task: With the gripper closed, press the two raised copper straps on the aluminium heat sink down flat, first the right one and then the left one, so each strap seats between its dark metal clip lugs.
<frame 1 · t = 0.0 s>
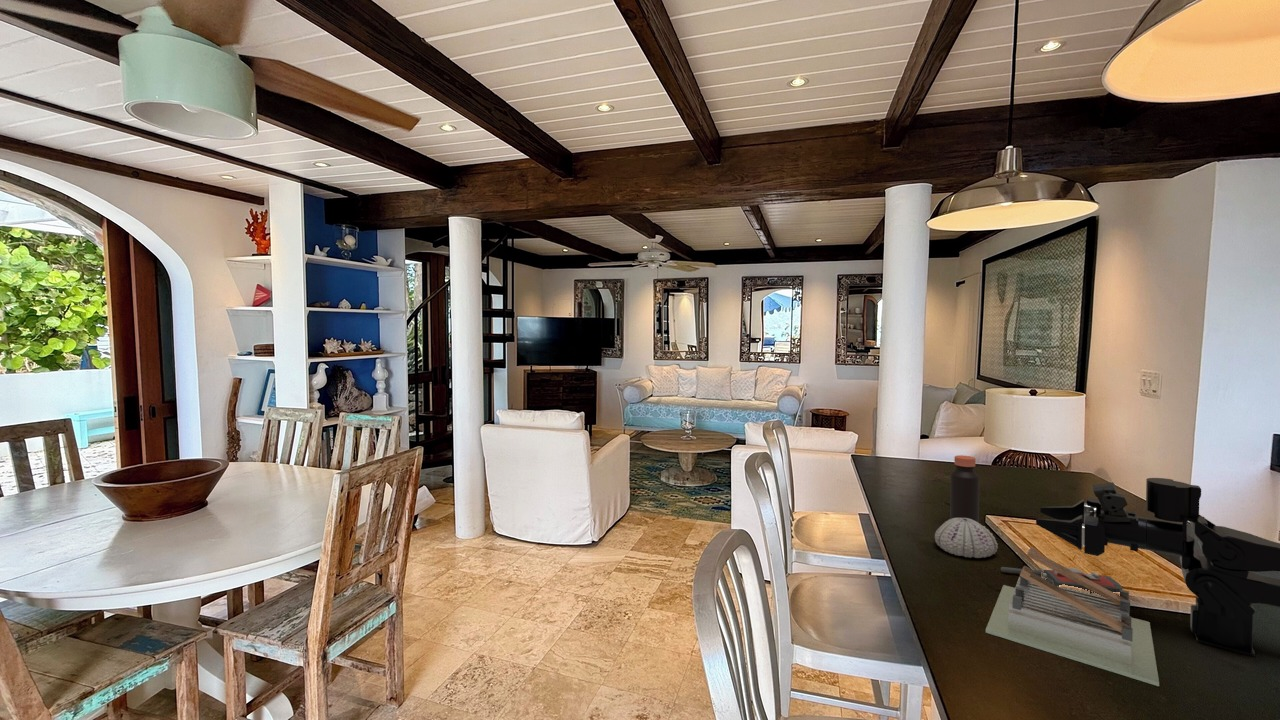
hand: (1038, 515, 105), 17 cm above the table, tool horizontal, fingers open, 9 cm apart
bottle: (964, 529, 142), on the table
strap left: (1073, 598, 88), point 8 cm above the table, hinge at 22.0°
walkie-talkie: (1060, 588, 109), on the table
strap right: (1076, 576, 96), point 8 cm above the table, hinge at 22.0°
sea urchin shell: (964, 551, 128), on the table
heat sink board: (1068, 628, 93), on the table
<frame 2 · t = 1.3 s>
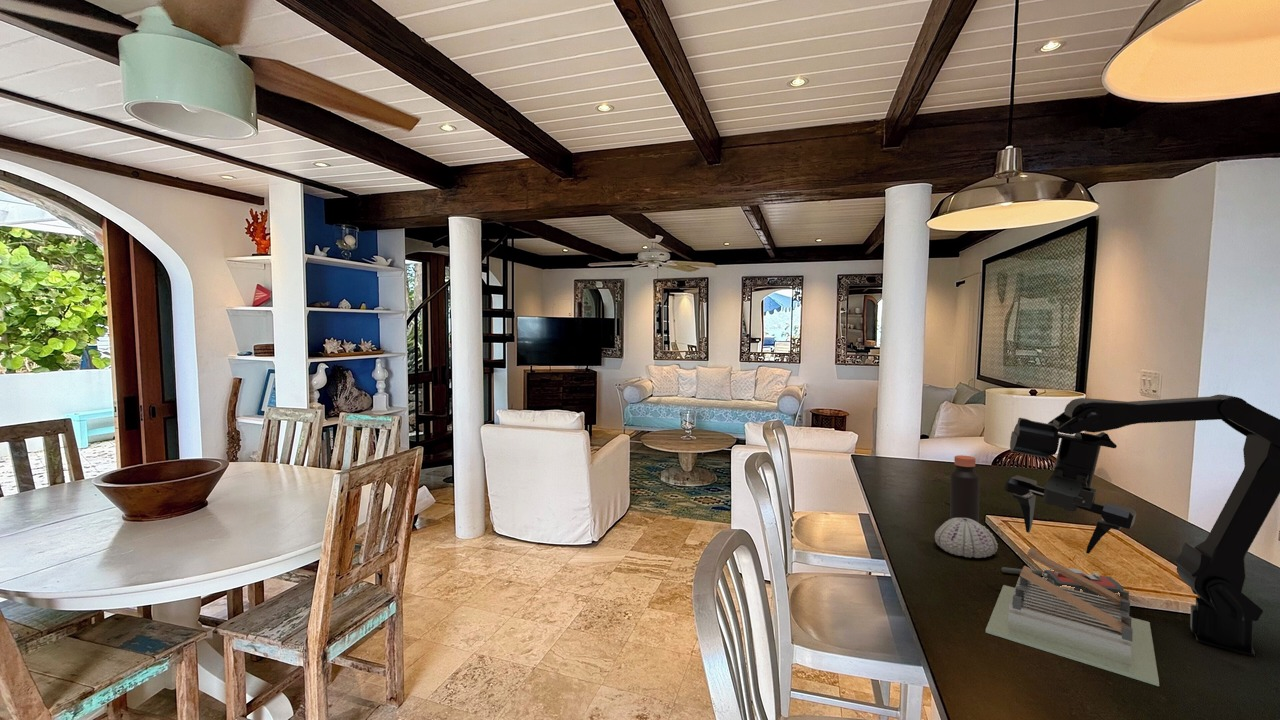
hand: (1056, 542, 98), 14 cm above the table, tool pointing down, fingers open, 9 cm apart
nothing on the table moved.
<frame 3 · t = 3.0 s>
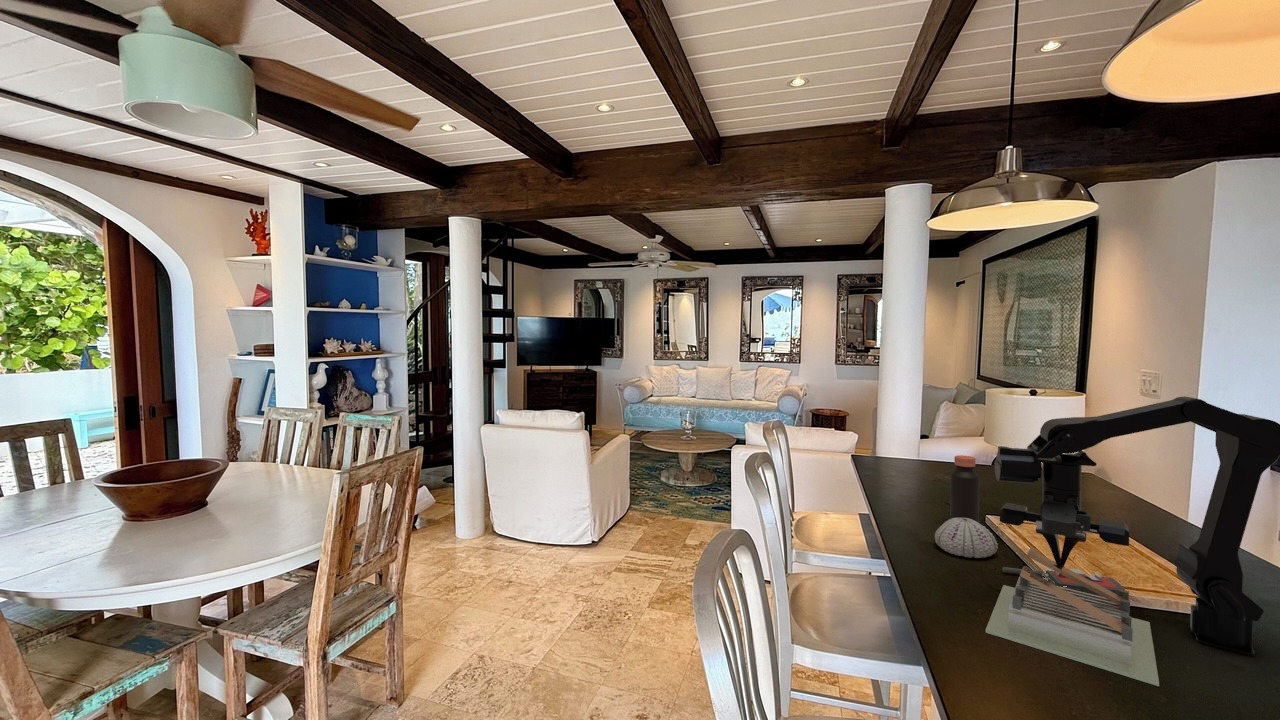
hand: (1060, 566, 98), 9 cm above the table, tool pointing down, fingers closed
strap right: (1076, 576, 96), point 8 cm above the table, hinge at 21.9°, touching gripper
everything else where it was.
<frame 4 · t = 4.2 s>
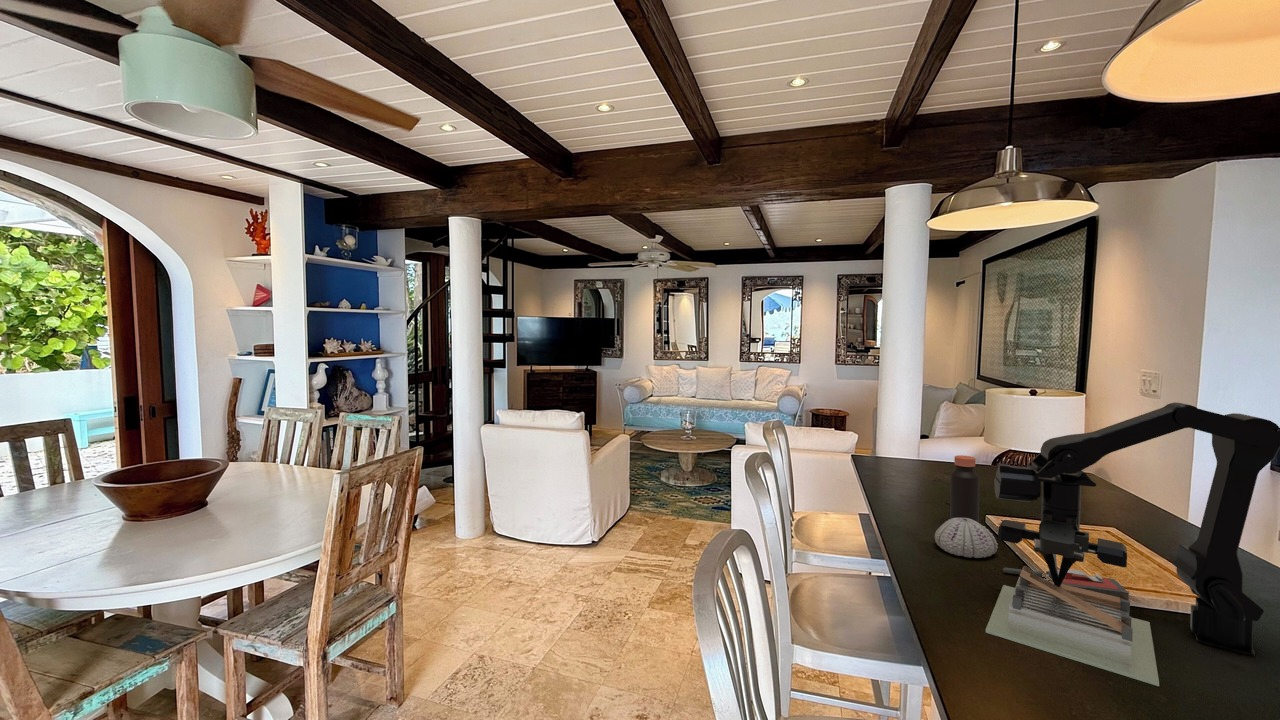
hand: (1057, 585, 98), 5 cm above the table, tool pointing down, fingers closed
strap right: (1071, 589, 97), point 5 cm above the table, hinge at -0.3°, touching gripper, heat sink board
everything else where it was.
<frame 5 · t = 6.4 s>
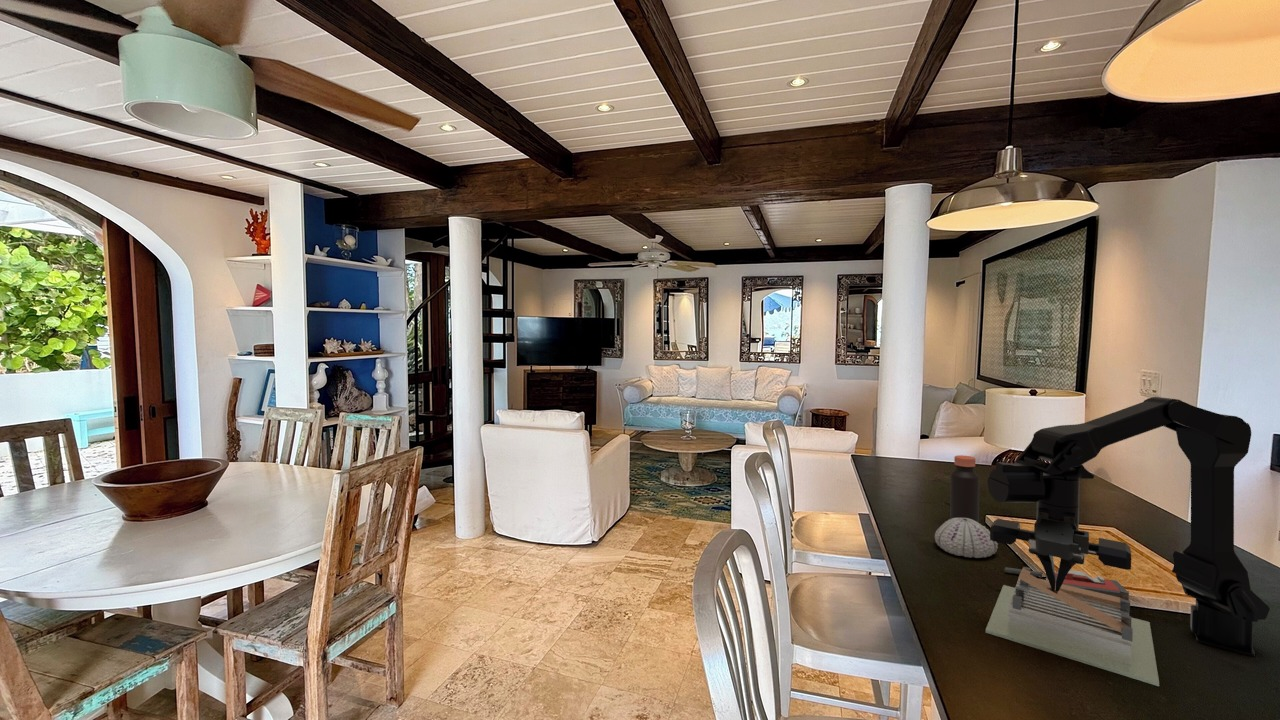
hand: (1055, 590, 90), 9 cm above the table, tool pointing down, fingers closed
strap left: (1072, 600, 88), point 8 cm above the table, hinge at 19.8°, touching gripper
strap right: (1071, 589, 97), point 5 cm above the table, hinge at -0.3°, touching heat sink board
everything else where it was.
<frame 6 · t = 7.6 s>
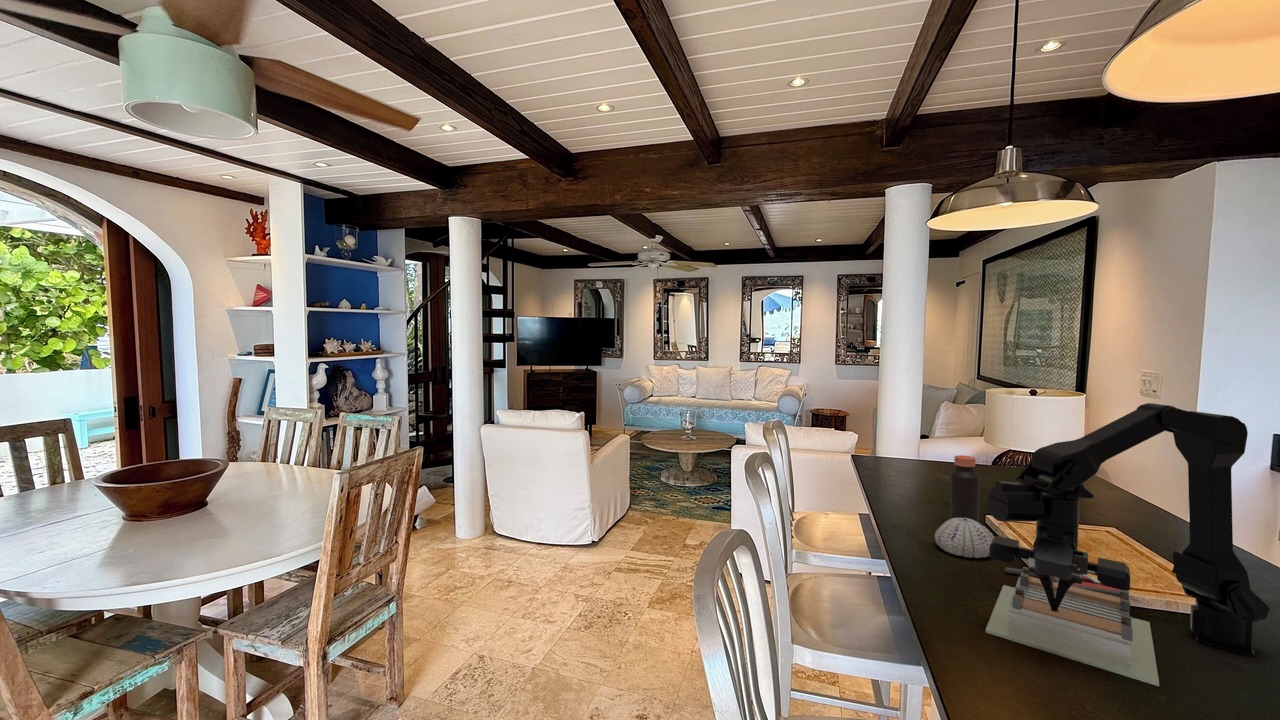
hand: (1054, 608, 90), 5 cm above the table, tool pointing down, fingers closed, pressing on strap left
strap left: (1068, 613, 88), point 5 cm above the table, hinge at -0.3°, touching gripper, heat sink board
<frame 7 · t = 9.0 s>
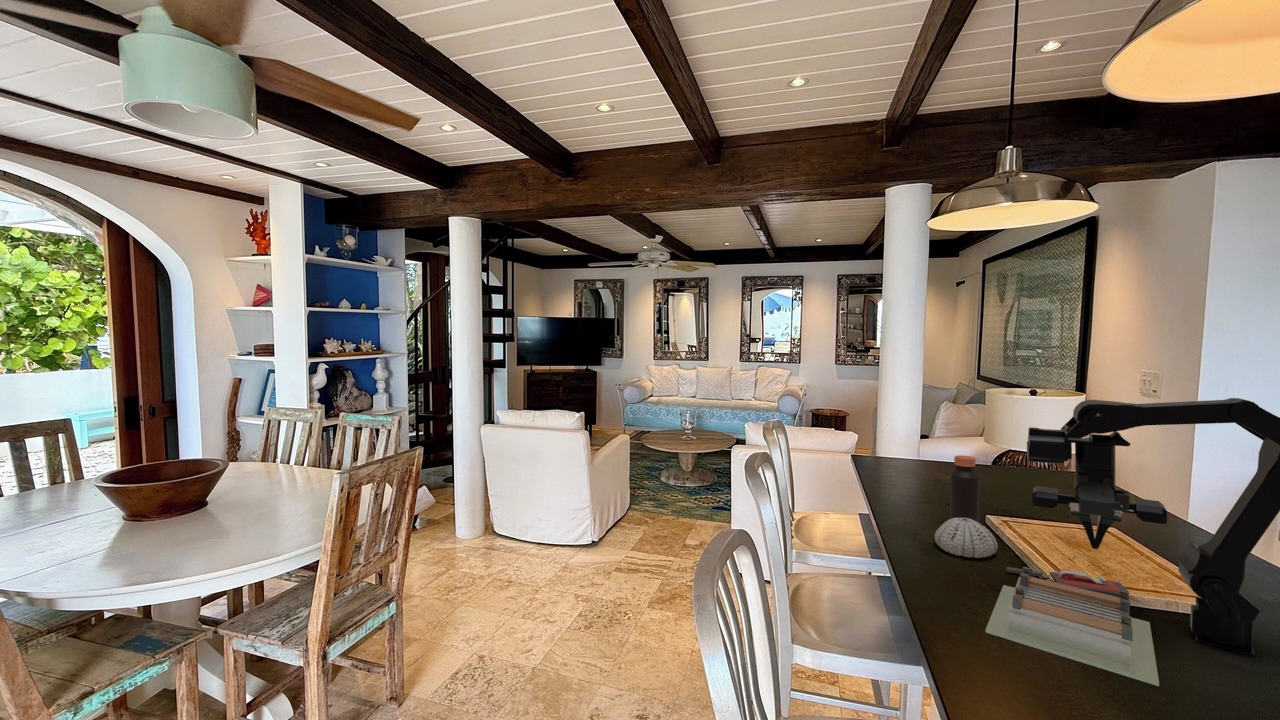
hand: (1095, 548, 97), 13 cm above the table, tool pointing down, fingers closed
strap left: (1068, 613, 88), point 5 cm above the table, hinge at -0.3°, touching heat sink board
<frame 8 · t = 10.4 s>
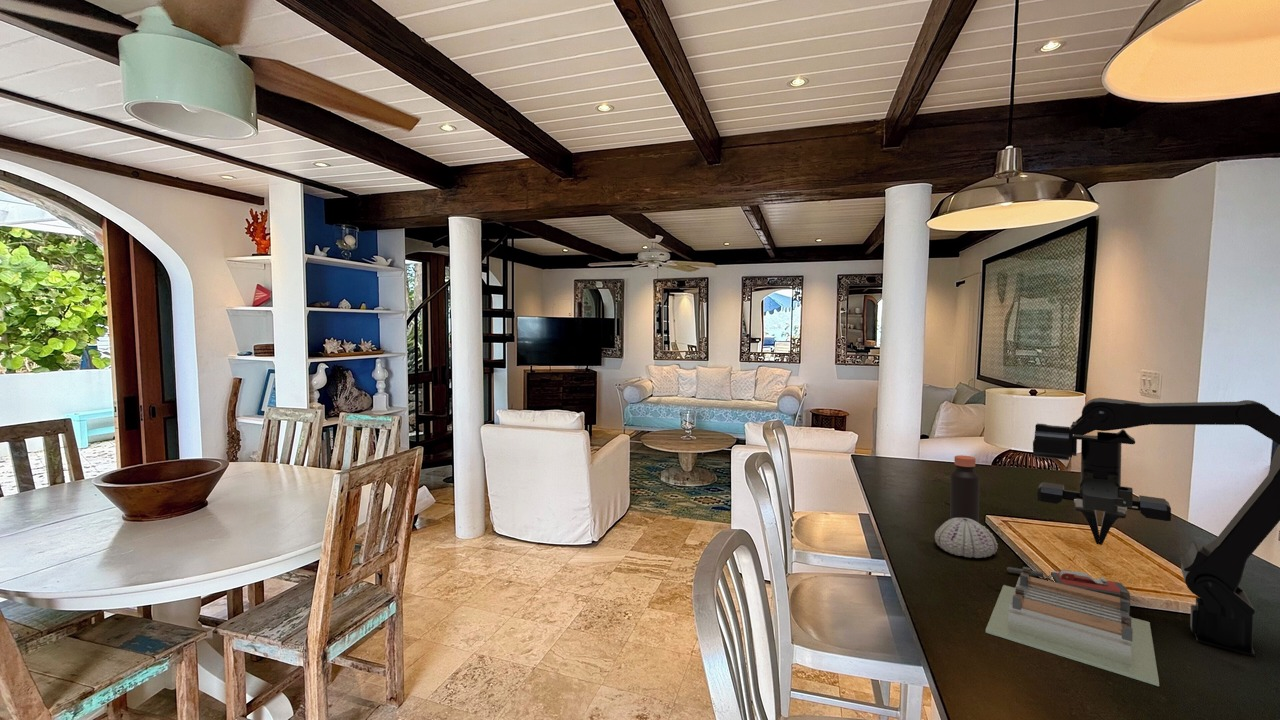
hand: (1099, 544, 99), 13 cm above the table, tool pointing down, fingers closed
at the end: strap right at +0° (first picture: +22°); strap left at +0° (first picture: +22°) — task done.
